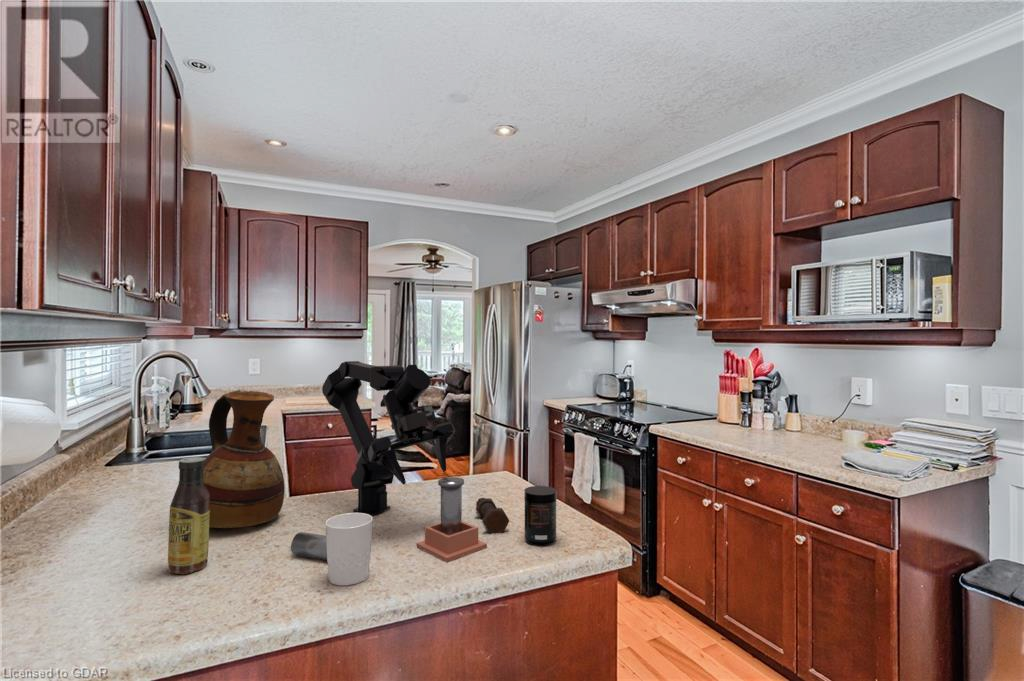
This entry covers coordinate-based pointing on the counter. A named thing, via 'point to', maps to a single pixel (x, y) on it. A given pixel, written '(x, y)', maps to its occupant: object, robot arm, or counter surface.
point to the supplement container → (540, 515)
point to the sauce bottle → (189, 519)
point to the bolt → (492, 516)
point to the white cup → (348, 547)
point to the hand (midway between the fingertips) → (425, 477)
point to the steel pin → (451, 504)
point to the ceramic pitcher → (241, 464)
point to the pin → (309, 545)
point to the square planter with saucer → (451, 542)
